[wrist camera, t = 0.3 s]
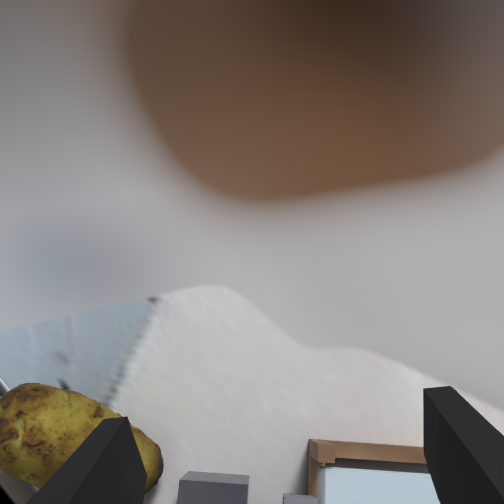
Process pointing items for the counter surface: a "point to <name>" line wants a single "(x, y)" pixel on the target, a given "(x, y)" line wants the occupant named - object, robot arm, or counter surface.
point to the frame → (356, 455)
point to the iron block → (213, 488)
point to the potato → (56, 432)
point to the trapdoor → (368, 488)
